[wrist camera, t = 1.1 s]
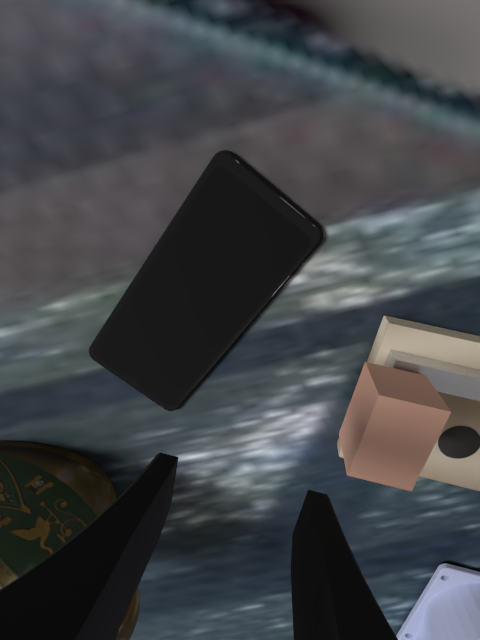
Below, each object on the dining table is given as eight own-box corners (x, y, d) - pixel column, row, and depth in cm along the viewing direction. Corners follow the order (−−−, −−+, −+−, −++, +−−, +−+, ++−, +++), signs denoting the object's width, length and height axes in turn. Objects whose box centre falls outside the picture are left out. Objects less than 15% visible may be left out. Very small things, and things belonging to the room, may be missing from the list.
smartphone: (329, 233, 18) (172, 416, 23) (328, 231, 19) (175, 409, 24) (220, 143, 17) (83, 355, 22) (223, 144, 18) (90, 349, 23)
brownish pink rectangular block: (387, 435, 20) (409, 495, 16) (335, 423, 20) (345, 479, 17) (417, 364, 19) (451, 411, 15) (360, 351, 19) (378, 395, 15)
